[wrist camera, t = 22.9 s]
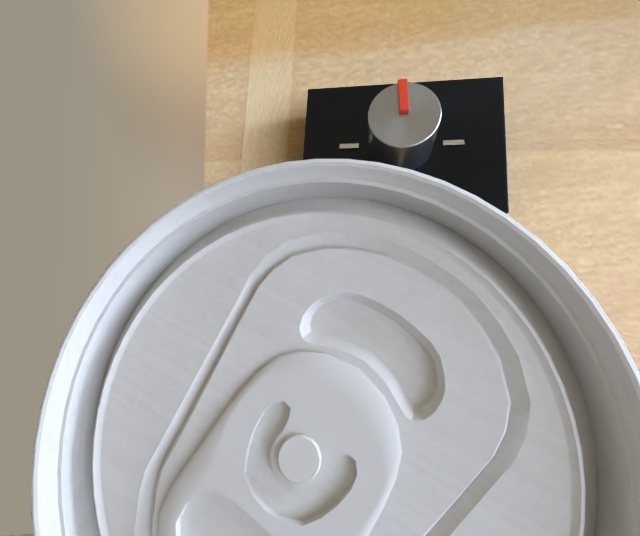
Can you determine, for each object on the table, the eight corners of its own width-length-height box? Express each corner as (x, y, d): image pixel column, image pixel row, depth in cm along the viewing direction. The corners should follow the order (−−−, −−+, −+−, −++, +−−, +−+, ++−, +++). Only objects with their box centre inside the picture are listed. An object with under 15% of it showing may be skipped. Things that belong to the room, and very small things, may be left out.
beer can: (448, 336, 17) (935, 371, 2) (381, 438, 16) (423, 1296, 2) (349, 270, 18) (243, 29, 4) (285, 363, 18) (-115, 505, 3)
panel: (307, 225, 27) (298, 211, 24) (314, 113, 28) (307, 87, 25) (493, 226, 24) (510, 211, 21) (488, 104, 26) (503, 74, 23)
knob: (434, 171, 23) (445, 140, 19) (369, 176, 23) (368, 147, 20) (429, 113, 24) (440, 73, 20) (367, 120, 24) (366, 82, 21)
